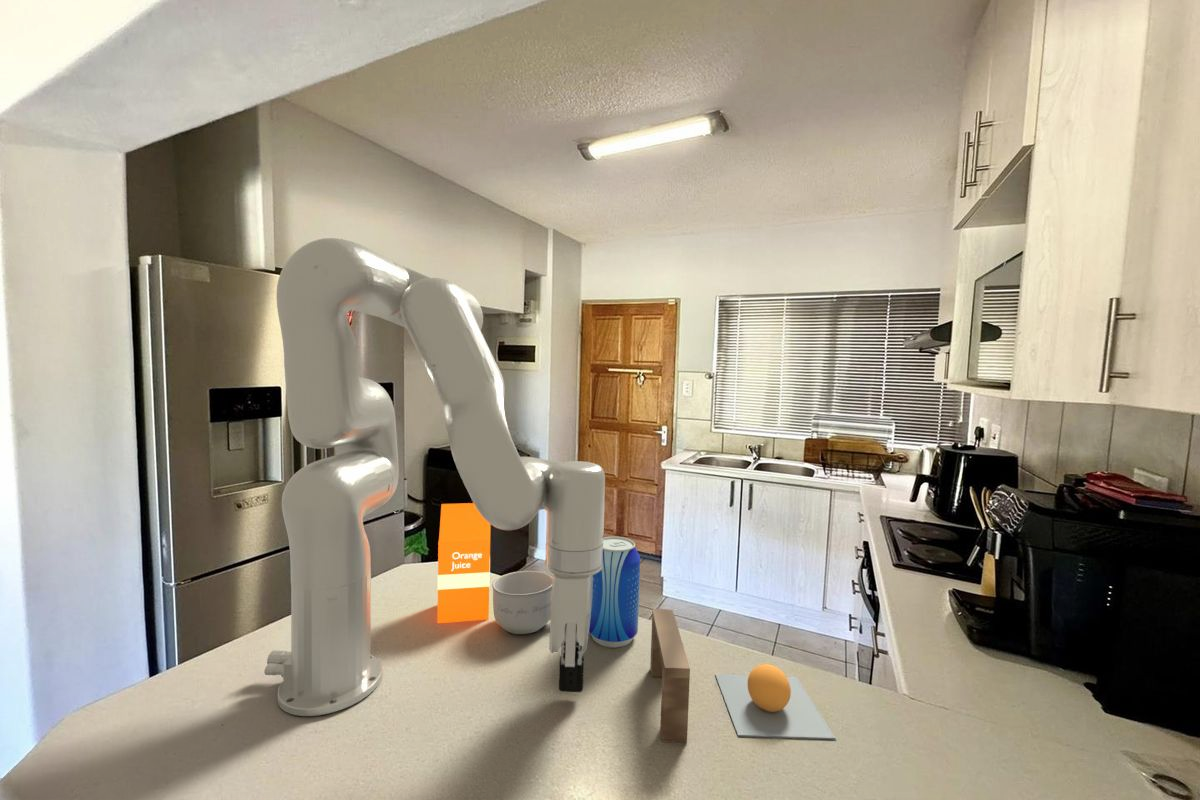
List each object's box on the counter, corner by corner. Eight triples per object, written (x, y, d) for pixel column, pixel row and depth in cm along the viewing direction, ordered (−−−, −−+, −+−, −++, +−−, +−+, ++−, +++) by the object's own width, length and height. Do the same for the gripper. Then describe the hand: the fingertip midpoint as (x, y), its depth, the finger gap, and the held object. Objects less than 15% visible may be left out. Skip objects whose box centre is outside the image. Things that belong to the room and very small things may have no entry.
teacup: (489, 644, 78) (490, 595, 78) (493, 611, 89) (494, 568, 89) (575, 639, 80) (576, 592, 80) (569, 607, 91) (570, 566, 91)
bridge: (662, 741, 58) (664, 667, 58) (650, 668, 73) (652, 608, 72) (687, 742, 58) (690, 668, 58) (670, 669, 73) (672, 609, 72)
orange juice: (489, 619, 86) (490, 508, 85) (436, 623, 84) (438, 510, 83) (489, 599, 94) (491, 497, 92) (441, 602, 92) (442, 498, 91)
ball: (804, 710, 62) (765, 728, 62) (788, 684, 68) (753, 700, 68) (785, 672, 62) (746, 690, 62) (771, 649, 68) (735, 665, 68)
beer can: (634, 653, 77) (637, 554, 76) (582, 646, 78) (585, 549, 78) (640, 626, 85) (643, 537, 84) (593, 620, 87) (596, 532, 86)
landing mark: (737, 736, 60) (738, 734, 60) (715, 675, 72) (715, 674, 72) (835, 739, 60) (835, 737, 60) (796, 678, 72) (796, 676, 72)
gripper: (552, 535, 72) (549, 655, 73) (539, 577, 57) (535, 727, 58) (602, 537, 72) (599, 656, 73) (602, 579, 57) (598, 729, 58)
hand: (571, 687), depth 66 cm, fingers closed
